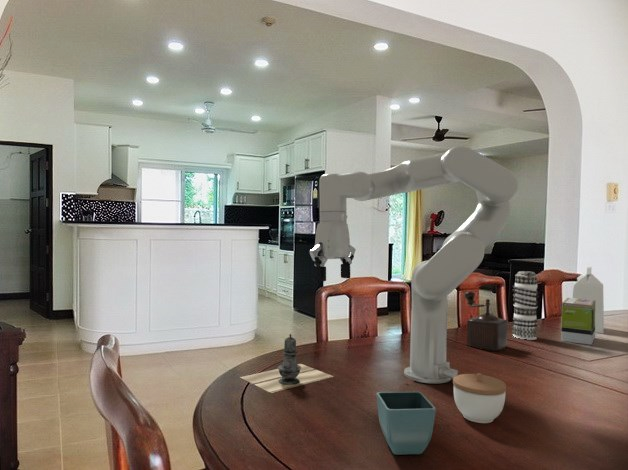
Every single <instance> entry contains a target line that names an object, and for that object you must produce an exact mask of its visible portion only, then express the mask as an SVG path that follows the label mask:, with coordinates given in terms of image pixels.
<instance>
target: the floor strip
mask: <svg viewBox="0 0 628 470" xmlns="http://www.w3.org/2000/svg"><path fill="white" fill-rule="evenodd" d="M296 364H297V363H296ZM297 365H299V366H301V369H300V373H304V372H308V371H312V370H316V368H314V367H310V366H308V365H305V364H302V363H298V364H297ZM300 373H299V374H300ZM239 378H240V379H242V380H244V381H245V382H248V383H249V384H252V385H255V384H259V383H263V382H267V381H271V380H275V379H279V378H283V377H282V376H281V375H280V373H279V369H278V368H275V369H272V370H271V369H270V370H267V371H261V372H258V373H253V374H250V375H249V374H248V375H244V376H240V377H239Z"/></svg>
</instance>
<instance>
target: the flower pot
mask: <svg viewBox="0 0 628 470" xmlns="http://www.w3.org/2000/svg"><path fill="white" fill-rule="evenodd" d="M376 400H377V401H376V404H377V413H378V414H377V415H378V421H379V425H380V428H381V432H382V434H383V437H384V438H385V441H386V443H387V444H388V446H389V449H391V450H390V451H391V452H392V454H393V455H401V456H402V455H421V454H423V452H425V450H426V449H427V447H428V445H429V444H430V442H431V439H432V435H433V430H434V424H435V417H436V411H437V409H436V407H435V406H434V404H433V403H432V402H431V401H430V400H429V399H428V398H427V396H425V395H424V393H422V392H421V391H377V392H376Z"/></svg>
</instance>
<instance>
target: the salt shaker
mask: <svg viewBox="0 0 628 470" xmlns="http://www.w3.org/2000/svg"><path fill="white" fill-rule="evenodd" d="M282 353H283V362H282V364H280V365H279V366H277V369H279V373H280V375H281V376H282V378H281V379H280V380H279V383H280V384H283V385H296V384H298V383H300V380H299V379H297V378H296V377H297V376H298V375H299V374H300V369H301V366H299V365H297V354H298V351H297V339H296V338H294V337H293V336H292V333H289V336H288V337H286V338H285V339H284V348H283V351H282Z"/></svg>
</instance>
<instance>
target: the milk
mask: <svg viewBox="0 0 628 470" xmlns="http://www.w3.org/2000/svg"><path fill="white" fill-rule="evenodd" d="M572 298H578V299H589V300H595V334H604V330H605V327H604V325H605V321H604V320H605V318H604V315H605V312H604V305H605V304H604V284H603V283H602V282H601V281H600V280H599V279H598V278H597V277H596V276H595V275H594V274H593V273H592V266H587V267H586V274H584V275H583V274H580V275H579V276H578V277H577V278H576V281H575V282H574V284H573V289H572Z"/></svg>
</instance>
